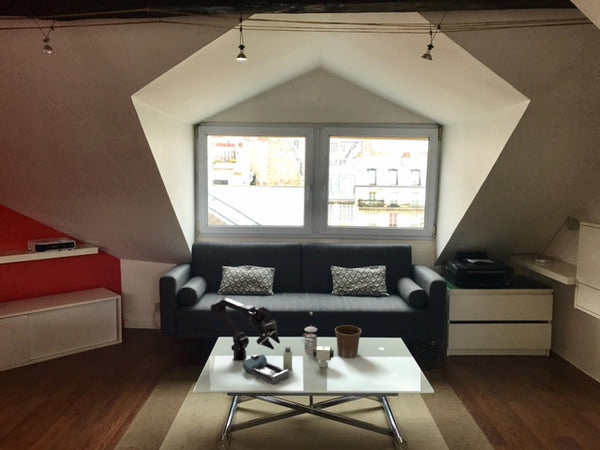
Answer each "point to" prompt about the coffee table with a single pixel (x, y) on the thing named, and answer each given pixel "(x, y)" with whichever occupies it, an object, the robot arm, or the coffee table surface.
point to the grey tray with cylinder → (265, 369)
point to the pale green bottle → (287, 359)
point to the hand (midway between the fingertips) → (276, 346)
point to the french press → (313, 342)
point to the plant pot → (347, 341)
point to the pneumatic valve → (323, 355)
